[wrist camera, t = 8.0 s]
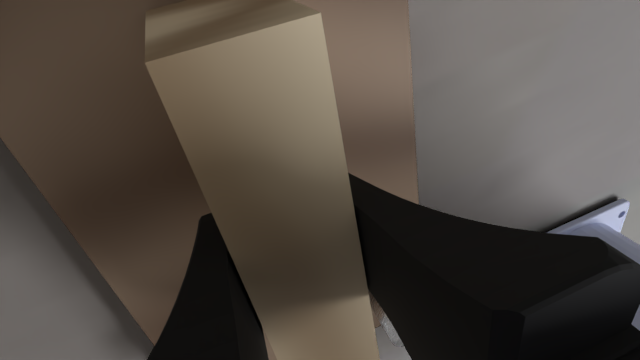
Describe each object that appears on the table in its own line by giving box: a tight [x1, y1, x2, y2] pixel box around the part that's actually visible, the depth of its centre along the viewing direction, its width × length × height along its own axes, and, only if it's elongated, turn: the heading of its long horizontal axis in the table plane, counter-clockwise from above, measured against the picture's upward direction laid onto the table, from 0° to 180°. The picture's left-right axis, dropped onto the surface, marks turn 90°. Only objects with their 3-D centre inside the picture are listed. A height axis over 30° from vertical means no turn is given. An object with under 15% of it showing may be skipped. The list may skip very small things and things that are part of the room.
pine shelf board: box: [145, 0, 380, 360], centre depth 11 cm, size 3×12×5 cm, turn 11°
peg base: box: [0, 0, 419, 360], centre depth 13 cm, size 22×12×4 cm, turn 11°
